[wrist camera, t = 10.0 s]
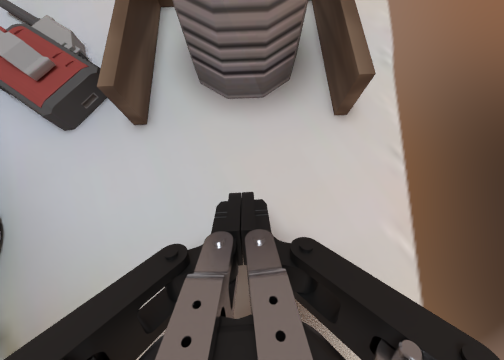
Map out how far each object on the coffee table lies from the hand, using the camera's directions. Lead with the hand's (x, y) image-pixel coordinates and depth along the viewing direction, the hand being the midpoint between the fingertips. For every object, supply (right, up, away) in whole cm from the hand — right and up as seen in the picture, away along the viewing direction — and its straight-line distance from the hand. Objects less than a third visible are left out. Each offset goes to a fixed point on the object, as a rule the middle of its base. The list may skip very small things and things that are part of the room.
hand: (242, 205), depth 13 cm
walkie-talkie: (-22, +14, +10) cm, 27 cm away
